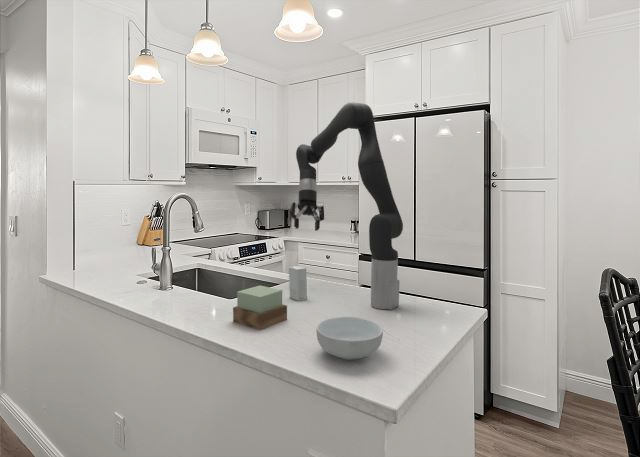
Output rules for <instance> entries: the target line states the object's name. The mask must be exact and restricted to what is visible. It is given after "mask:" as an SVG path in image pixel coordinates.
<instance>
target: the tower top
mask: <svg viewBox="0 0 640 457" xmlns="http://www.w3.org/2000/svg"><path fill="white" fill-rule="evenodd" d="M236 298H237V300H236V301H237V302H236V304H237V305H236V306H237V307H239V308H242V309H246V310H250V311H254V312H257V313H263V312H265V311H268V310H271V309H274V308H277V307H279V306H282V304H283V290H282V289H278V288H274V287H270V286H269V287H268V286H265V285H264V286H263V285H261V284H260V285H256V286H253V287H249V288H245V289H242V290H239V291H236Z"/></svg>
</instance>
